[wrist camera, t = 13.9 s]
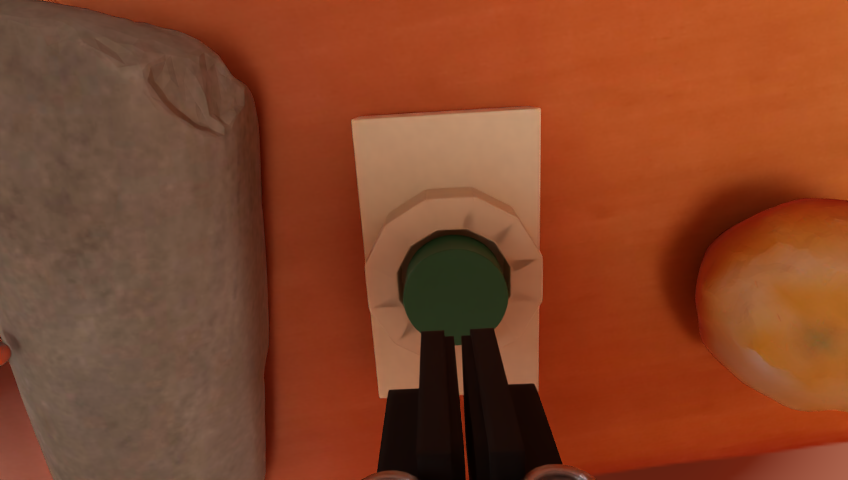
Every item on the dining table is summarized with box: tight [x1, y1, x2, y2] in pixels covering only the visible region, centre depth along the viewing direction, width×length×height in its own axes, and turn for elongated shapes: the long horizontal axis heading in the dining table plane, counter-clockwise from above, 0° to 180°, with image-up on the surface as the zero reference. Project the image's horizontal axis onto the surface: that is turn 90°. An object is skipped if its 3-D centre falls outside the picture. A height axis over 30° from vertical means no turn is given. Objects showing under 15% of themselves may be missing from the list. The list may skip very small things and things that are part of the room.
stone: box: [0, 0, 269, 480], centre depth 20 cm, size 24×7×10 cm
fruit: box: [695, 198, 848, 412], centre depth 19 cm, size 8×8×8 cm
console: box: [351, 106, 543, 398], centre depth 20 cm, size 12×7×4 cm, turn 4°
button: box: [403, 235, 508, 346], centre depth 18 cm, size 4×4×2 cm
